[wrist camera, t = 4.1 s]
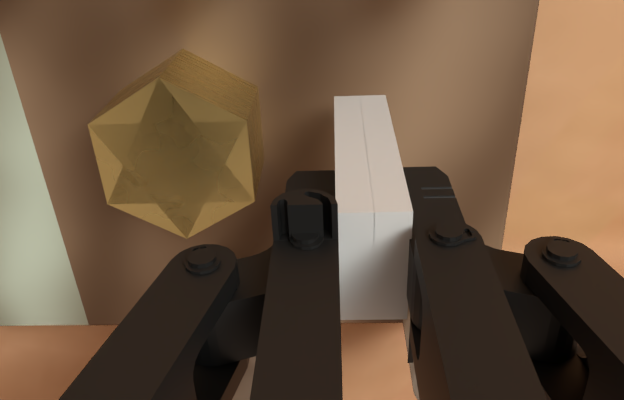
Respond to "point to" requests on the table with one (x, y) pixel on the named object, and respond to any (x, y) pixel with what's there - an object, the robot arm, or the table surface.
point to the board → (274, 119)
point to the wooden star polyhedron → (181, 145)
